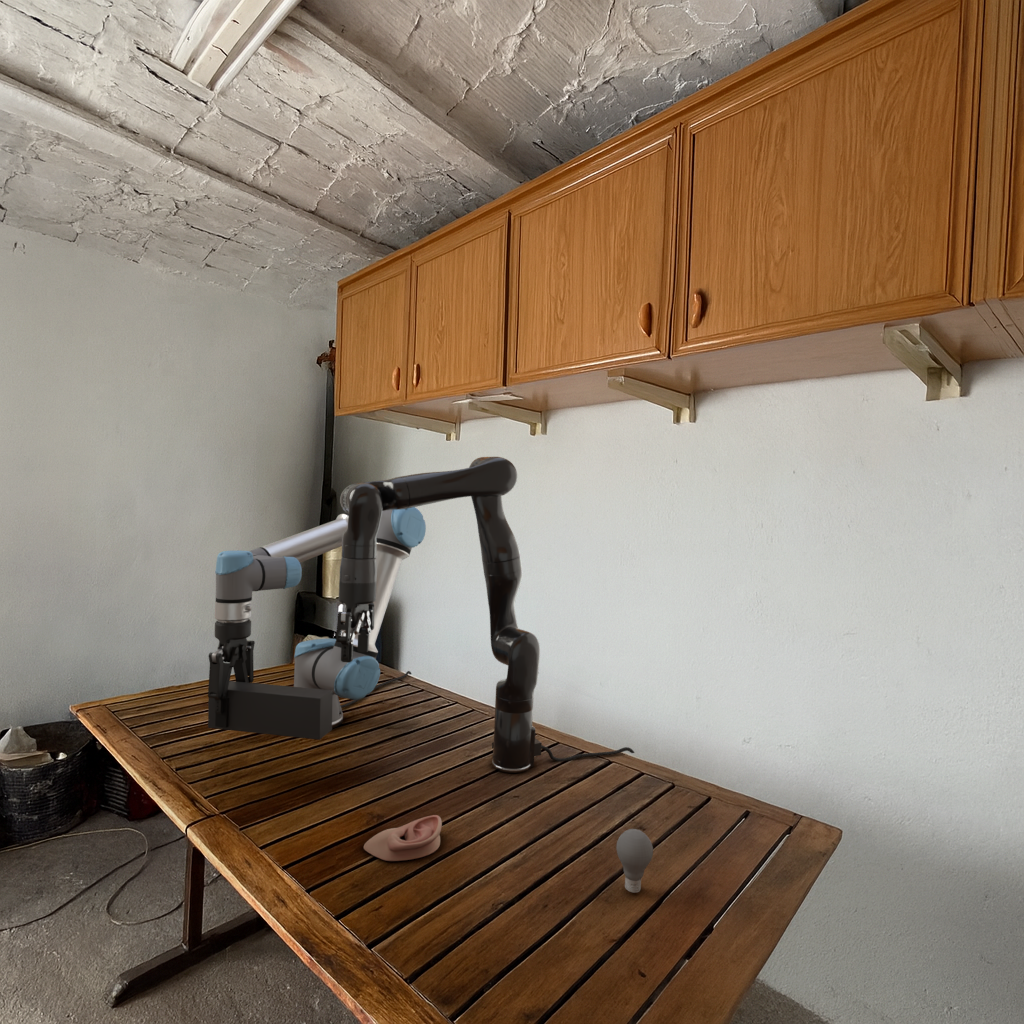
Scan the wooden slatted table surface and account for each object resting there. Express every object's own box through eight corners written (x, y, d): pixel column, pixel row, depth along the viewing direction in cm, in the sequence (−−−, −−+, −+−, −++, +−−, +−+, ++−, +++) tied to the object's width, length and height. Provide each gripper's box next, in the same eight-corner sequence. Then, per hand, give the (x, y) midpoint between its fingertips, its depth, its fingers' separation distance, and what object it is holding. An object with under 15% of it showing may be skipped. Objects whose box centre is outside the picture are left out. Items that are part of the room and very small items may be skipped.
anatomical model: (356, 833, 112) (382, 804, 123) (355, 856, 112) (381, 824, 123) (428, 845, 109) (448, 813, 121) (427, 868, 109) (447, 834, 121)
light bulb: (610, 879, 108) (613, 822, 108) (644, 879, 109) (647, 822, 109) (619, 902, 102) (622, 840, 102) (655, 901, 103) (658, 840, 103)
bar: (207, 727, 141) (208, 687, 141) (224, 718, 147) (224, 680, 146) (319, 739, 136) (320, 698, 136) (332, 730, 142) (332, 690, 142)
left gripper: (221, 629, 132) (219, 738, 133) (271, 613, 151) (269, 709, 152) (189, 626, 134) (187, 735, 135) (243, 611, 152) (241, 706, 153)
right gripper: (362, 584, 124) (358, 667, 124) (387, 576, 138) (384, 650, 138) (325, 582, 125) (322, 663, 125) (354, 574, 139) (351, 647, 139)
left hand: (230, 721), depth 143 cm, fingers closed on bar, 6 cm apart
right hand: (355, 656), depth 132 cm, fingers open, 8 cm apart
